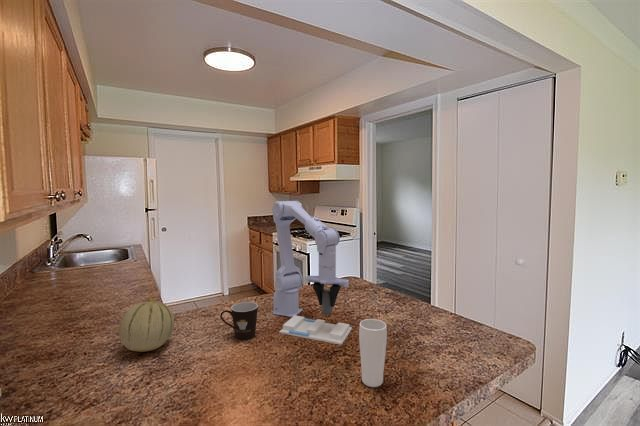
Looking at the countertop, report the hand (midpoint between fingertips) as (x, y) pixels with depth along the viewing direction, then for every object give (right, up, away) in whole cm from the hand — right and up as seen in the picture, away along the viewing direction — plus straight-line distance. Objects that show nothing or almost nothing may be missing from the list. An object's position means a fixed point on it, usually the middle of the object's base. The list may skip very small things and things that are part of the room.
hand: (327, 305), depth 105 cm
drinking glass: (+11, -12, -26) cm, 31 cm away
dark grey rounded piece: (+1, -2, +3) cm, 4 cm away
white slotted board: (-4, -10, +2) cm, 10 cm away
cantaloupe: (-55, -11, -10) cm, 57 cm away
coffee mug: (-29, -10, -1) cm, 30 cm away
